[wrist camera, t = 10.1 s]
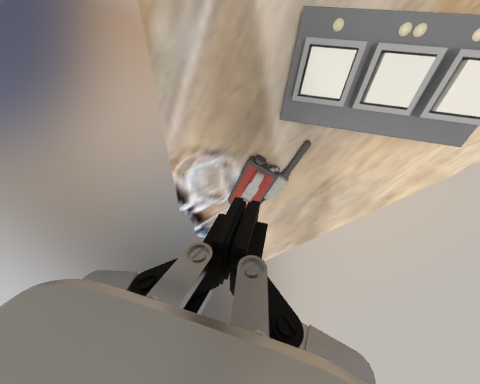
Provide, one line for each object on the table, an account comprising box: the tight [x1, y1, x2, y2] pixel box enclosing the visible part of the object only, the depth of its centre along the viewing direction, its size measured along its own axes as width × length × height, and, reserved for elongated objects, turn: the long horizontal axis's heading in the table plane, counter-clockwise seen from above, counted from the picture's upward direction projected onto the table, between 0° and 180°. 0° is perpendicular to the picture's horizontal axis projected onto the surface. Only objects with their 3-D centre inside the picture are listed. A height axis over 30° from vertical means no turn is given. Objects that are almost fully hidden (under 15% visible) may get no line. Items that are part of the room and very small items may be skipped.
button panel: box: [280, 6, 480, 147], centre depth 23 cm, size 13×25×4 cm, turn 84°
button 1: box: [300, 46, 357, 99], centre depth 23 cm, size 5×5×2 cm
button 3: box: [430, 60, 480, 117], centre depth 20 cm, size 5×5×2 cm
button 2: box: [361, 53, 436, 108], centre depth 22 cm, size 5×5×2 cm
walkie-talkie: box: [228, 141, 311, 207], centre depth 35 cm, size 9×4×20 cm
